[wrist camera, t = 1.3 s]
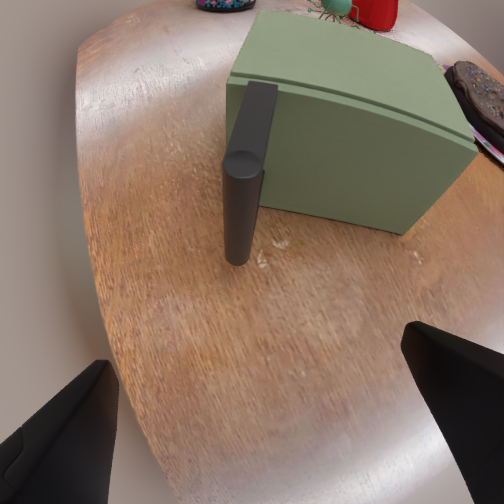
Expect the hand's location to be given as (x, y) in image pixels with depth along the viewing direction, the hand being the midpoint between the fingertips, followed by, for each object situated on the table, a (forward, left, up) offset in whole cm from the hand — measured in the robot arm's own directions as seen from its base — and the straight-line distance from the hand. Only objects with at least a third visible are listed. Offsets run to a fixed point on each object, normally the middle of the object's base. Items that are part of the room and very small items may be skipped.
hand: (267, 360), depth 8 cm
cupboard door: (+7, -9, -13) cm, 17 cm away
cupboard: (+15, -14, -13) cm, 24 cm away
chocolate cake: (+18, -53, -13) cm, 57 cm away
